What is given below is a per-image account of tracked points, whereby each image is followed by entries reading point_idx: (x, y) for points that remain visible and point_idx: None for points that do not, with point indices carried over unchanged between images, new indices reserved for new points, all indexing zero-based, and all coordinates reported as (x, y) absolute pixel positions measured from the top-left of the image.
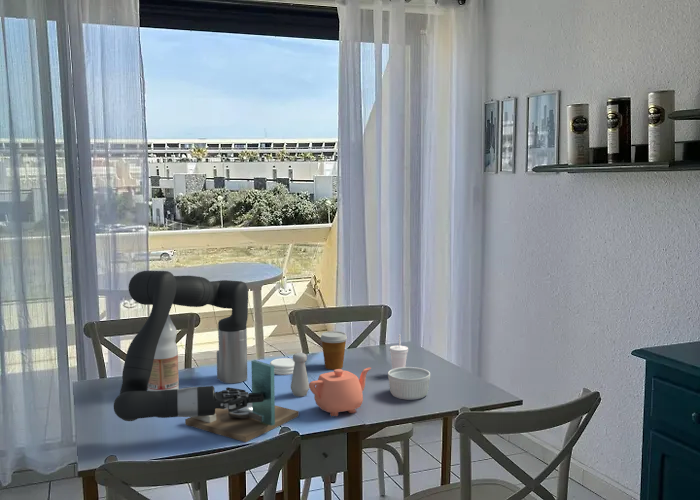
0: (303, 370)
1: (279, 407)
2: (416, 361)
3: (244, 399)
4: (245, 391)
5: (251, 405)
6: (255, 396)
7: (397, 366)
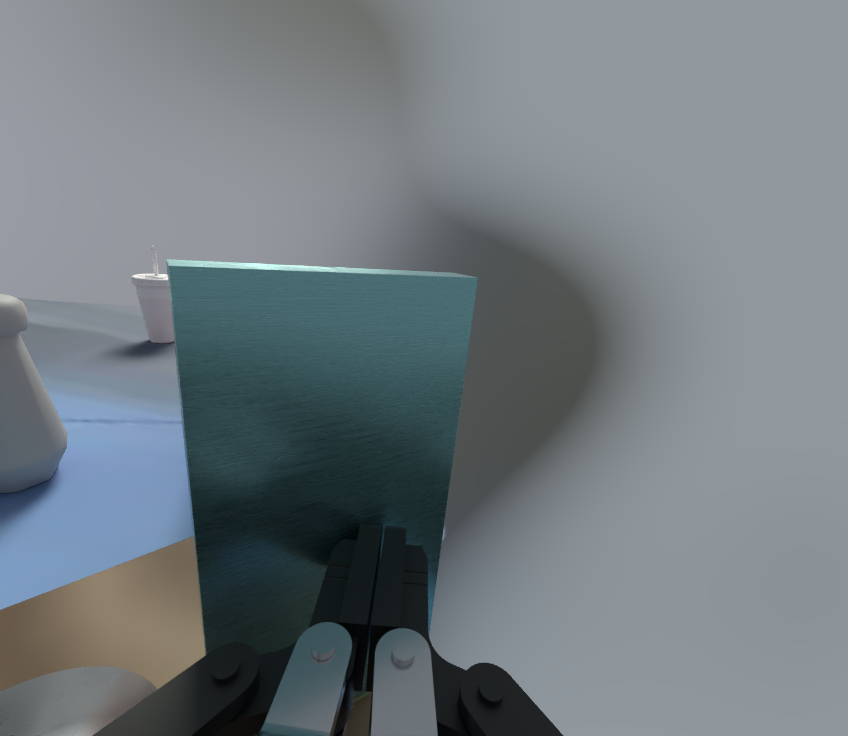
0: (31, 368)
1: (139, 565)
2: (120, 316)
3: (530, 713)
4: (247, 651)
5: (68, 719)
6: (423, 586)
7: (170, 318)
